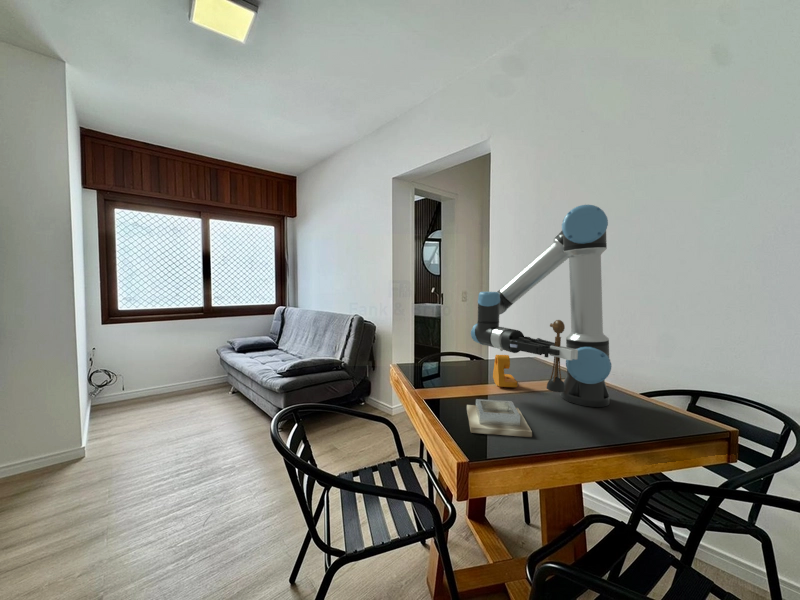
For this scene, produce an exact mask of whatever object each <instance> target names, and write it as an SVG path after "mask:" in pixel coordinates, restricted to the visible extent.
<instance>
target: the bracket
mask: <svg viewBox="0 0 800 600" xmlns="http://www.w3.org/2000/svg"><path fill="white" fill-rule="evenodd" d="M510 368H511V358H510V355H509V354H495V356H494V363H493V370H492V371H493V372H492V379H493V382H494V384H495V385H496V387H498V388H503V387H504V388H517V387H518V381H517V380H516V379H515V377H514V376H513V375H512V374H510V373H509V374H508V373H505V369H506V370H509V369H510Z"/></svg>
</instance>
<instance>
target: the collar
mask: <svg viewBox="0 0 800 600" xmlns="http://www.w3.org/2000/svg"><path fill="white" fill-rule="evenodd" d="M475 405H476V412H477V416H478V420H479V424H489V425H503V426H517V427H520V415H519V413H518V411H517V409H516V408H517V407H516V406H515V404H514V402H513V401H512V400H500V399H498V400H496V399H481V398H479V399H478V398H476V399H475ZM483 410H484V411H500V412H509V414H507V413H492V412H484V411H483Z"/></svg>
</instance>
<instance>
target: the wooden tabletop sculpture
mask: <svg viewBox="0 0 800 600" xmlns="http://www.w3.org/2000/svg"><path fill="white" fill-rule="evenodd" d="M549 327H550V328H552V331H553V332H554V333H555V334H556V336H555V337H554V343H555V346H556V347H560V346H562V345H561V344H562V343H561V342H562V341H561V338H562V336H561V334H562V333H564V331H565V323H564V321H562V320H561V319H556V320H555V321H553V323H550V324H549ZM546 389H547V390H548V391H550V392H555V393H560V392H565V384H564V380H563V379H562V373H561V358H559V357H555V356H553V366H552V371H551V376H550V379H549V380H548V381H547V384H546Z"/></svg>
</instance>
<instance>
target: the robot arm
mask: <svg viewBox="0 0 800 600" xmlns="http://www.w3.org/2000/svg"><path fill="white" fill-rule="evenodd" d="M608 226H609V220H608V216H607V214H606V213H605V212H604V210H603V209H601V207H599V206H597V205H595V204H594V205H593V204H581V205H578V206H576V207H574V208H572V209H570V211H568V212H567V214H566V215H565V216H564V218H563V220H562V223H561V231H560V232H559V233H558V234H557V235H555V237H554V238H553V242H552V243H551V244H550V245H549V246H548V247H547V248H546V249H544V250H543V251H542V252H541V253H540V254H538V255H537V257H535V258H534V259H533V260H532V261H530V262H529V263H528V264H527V265H526V266H524V268H522V269H521V270H520V271H519V272H518V273H517V274H516V275H515V276H513V277H512V278H510V280H509V281H508V282H506V283H505V284H504V285H503V286H502V287H501V288H500V289H499V290H497V291H480V292H479V293H478V297H477V323H475V324H474V325H473V326H472V328H471V330H470V336H471V339H472V340H473V341H474V342H475V343H478V344H480V345H482V346H487V347H491V348H493V349H494V348H495V349H499V351H500V352H503V351H505V352H509V353H513V354H517V353H520V352H524V353H530V354H534V355H539V356H542V355H544V358H549V356H552V357H554V356H555V358H556V357H559V358H560V359H563V360H565V367H566V376H565V378H564V380H563V382H564V384H565V392H559V393H560V394H559V396H560V397H561V398H562V399H563V400H565V401H566V402H569V403H572V404H575V405H578V406H584V407H591V408H592V407H593V408H603V407H607V406H609V405H610V398H611V397H610V394H609V391H608V387H607V383H606V381H605V380H606V379H607V378H608V377H609V375H610V374H611V371H612V362H611V359H610V338H609V337H607V335H605V334H604V327H603V326H604V325H603V324H604V322H603V288H602V287H603V286H602V285H603V284H602V283H603V282H602V280H603V279H602V254H603V253H604V252H605V251H606V250H607V229H608ZM567 260H569V261H568V266H569V290H570V291H569V294H570V295H569V296H570V297H569V298H570V299H569V300H570V303H569V304H570V330H571V331H570V333H569V334H568V335H566V336H565V340H566V341H565V342H566V343H565V346H564V345H560V347H556V346H555V341H554V342H553V341H550V340H546V339H545V340H544V339H542V338H541V337H540V338H539V337H537V338H532V337H531V336H525V335H524V333H523V332H522V331H521V330H519V329H513V328H509V327H504V326H500V315H502V314H504V313H505V312H507V310H508V309H509V308H510V307H512V306H513V305H514V304H515V303H516V302H517V301H519V300H520V298H522V297H523V296H524V295H526V294H527V293H529V291H531V290H532V289H533V288H535V286H537V284H539V283H540V282H541V281H542V280H544V279H545V278H547V277H548V276H549V275H550V274H551V273H552V272H554V271H555V270H556V269H557V268H558V267H560V266H561V265H562V264H563V263H564V262H566V261H567Z"/></svg>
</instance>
